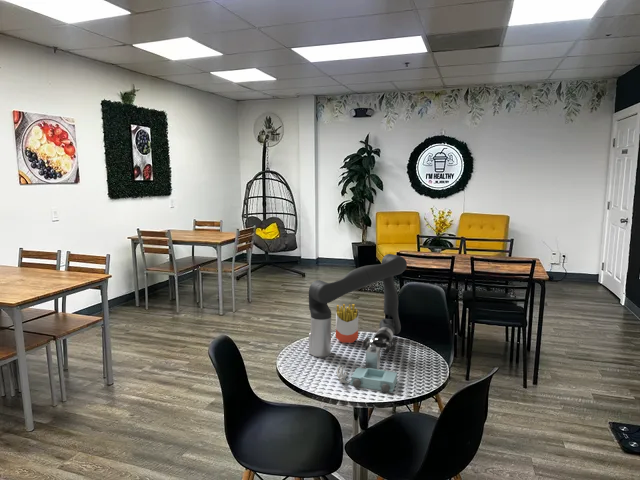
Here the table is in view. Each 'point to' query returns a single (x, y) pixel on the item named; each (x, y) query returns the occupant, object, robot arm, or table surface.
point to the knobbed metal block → (373, 357)
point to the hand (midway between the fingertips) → (376, 350)
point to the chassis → (374, 379)
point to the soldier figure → (341, 376)
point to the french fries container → (347, 324)
